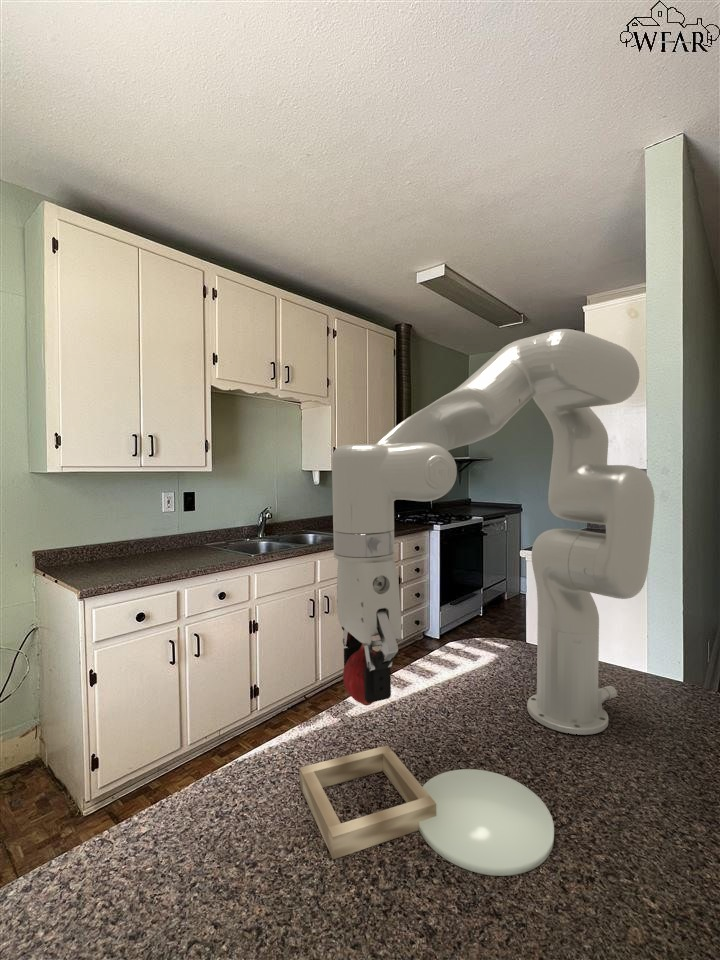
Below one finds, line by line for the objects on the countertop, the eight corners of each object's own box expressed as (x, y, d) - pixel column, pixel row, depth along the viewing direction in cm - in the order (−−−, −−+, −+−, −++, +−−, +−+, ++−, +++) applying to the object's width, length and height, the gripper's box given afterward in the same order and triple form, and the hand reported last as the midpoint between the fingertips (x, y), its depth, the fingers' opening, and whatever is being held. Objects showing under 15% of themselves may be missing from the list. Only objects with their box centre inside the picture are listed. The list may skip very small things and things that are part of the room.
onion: (386, 719, 57) (384, 652, 57) (338, 715, 58) (337, 650, 58) (392, 695, 63) (391, 635, 63) (349, 692, 64) (348, 632, 64)
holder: (387, 762, 69) (387, 745, 69) (436, 824, 57) (436, 803, 57) (299, 786, 64) (299, 767, 64) (333, 859, 52) (332, 837, 52)
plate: (493, 764, 69) (493, 757, 69) (586, 846, 54) (586, 838, 54) (392, 795, 62) (392, 787, 62) (466, 897, 48) (466, 887, 48)
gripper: (426, 553, 53) (428, 713, 54) (364, 533, 69) (366, 657, 70) (363, 560, 50) (367, 729, 51) (313, 537, 66) (316, 666, 67)
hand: (366, 686), depth 61 cm, fingers closed on onion, 5 cm apart
